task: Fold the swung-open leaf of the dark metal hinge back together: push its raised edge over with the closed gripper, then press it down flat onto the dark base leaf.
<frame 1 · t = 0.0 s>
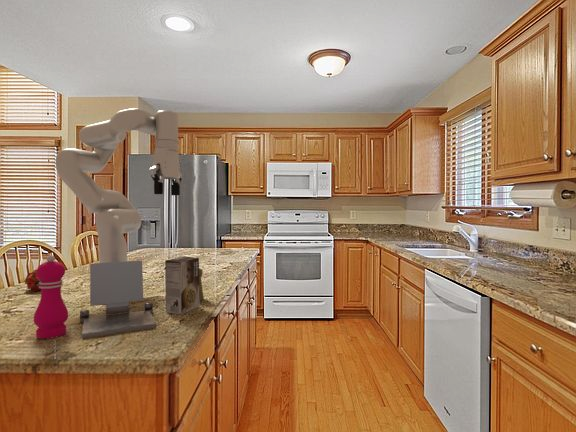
hand: (167, 194, 125), 37 cm above the countertop, tool pointing down, fingers open, 9 cm apart
pepper mill: (51, 335, 88), on the countertop
hinge base: (117, 316, 103), on the countertop
leaf: (117, 287, 104), point 8 cm above the countertop, hinge at 105.0°
dragon fruit: (38, 290, 137), on the countertop
coffee box: (182, 310, 110), on the countertop
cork: (195, 300, 123), on the countertop
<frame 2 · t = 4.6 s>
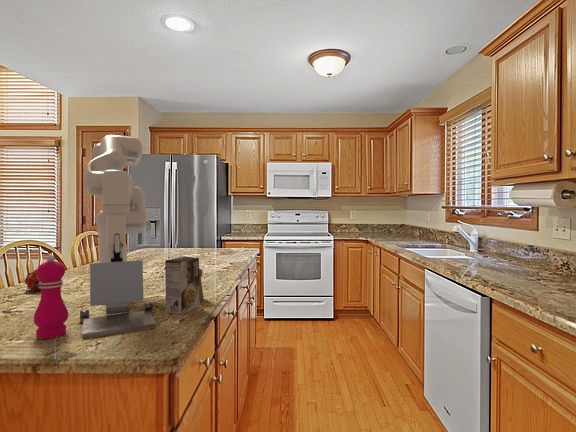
hand: (116, 271, 107), 13 cm above the countertop, tool pointing down, fingers closed
leaf: (117, 287, 104), point 8 cm above the countertop, hinge at 99.2°, touching gripper
everything else where it was.
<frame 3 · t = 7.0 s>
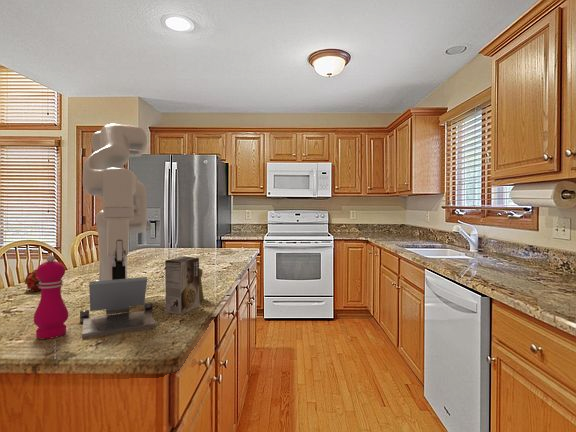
hand: (118, 280, 96), 12 cm above the countertop, tool pointing down, fingers closed
leaf: (118, 296, 99), point 7 cm above the countertop, hinge at 48.3°, touching gripper
everything else where it was.
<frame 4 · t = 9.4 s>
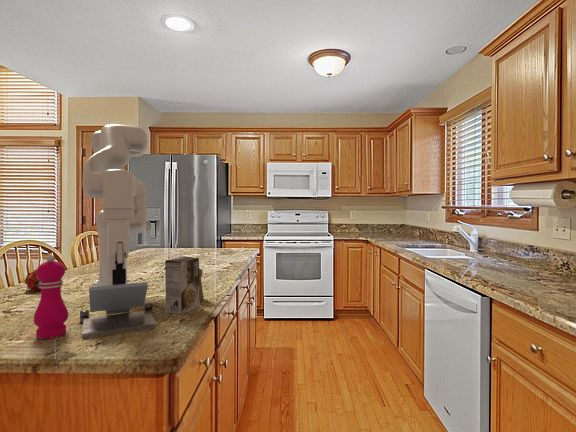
hand: (119, 284, 94), 11 cm above the countertop, tool pointing down, fingers closed
leaf: (118, 299, 98), point 6 cm above the countertop, hinge at 41.2°, touching gripper
everything else where it was.
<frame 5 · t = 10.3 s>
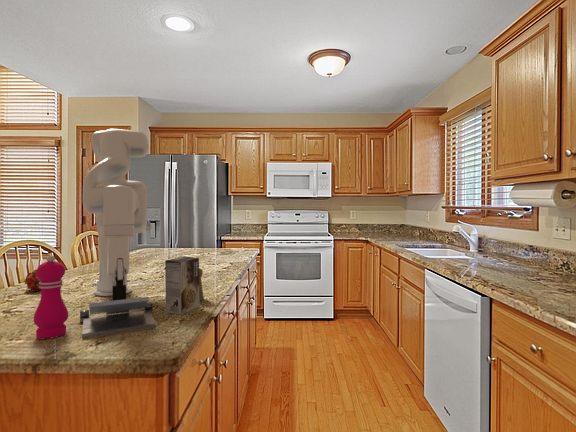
hand: (119, 300, 94), 7 cm above the countertop, tool pointing down, fingers closed
leaf: (118, 306, 97), point 5 cm above the countertop, hinge at 23.5°, touching gripper
everything else where it was.
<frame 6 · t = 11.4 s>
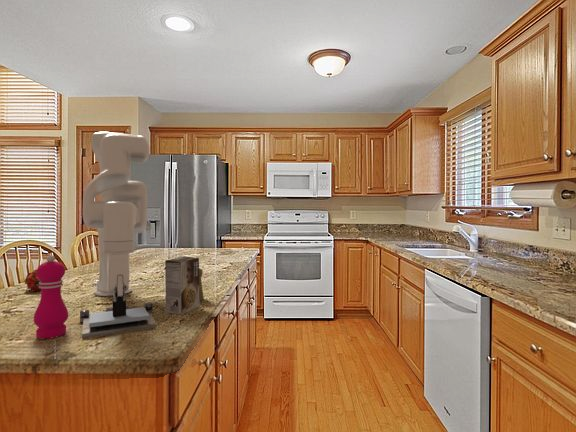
hand: (119, 315, 94), 3 cm above the countertop, tool pointing down, fingers closed
leaf: (118, 314, 97), point 2 cm above the countertop, hinge at 3.4°, touching gripper
everything else where it was.
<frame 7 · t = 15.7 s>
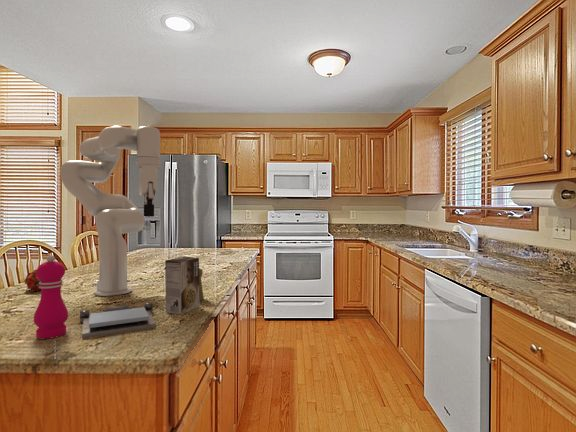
hand: (148, 216, 122), 29 cm above the countertop, tool pointing down, fingers closed
leaf: (118, 314, 97), point 2 cm above the countertop, hinge at 2.7°
everything else where it was.
at the end: leaf at +3° (first picture: +105°) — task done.
